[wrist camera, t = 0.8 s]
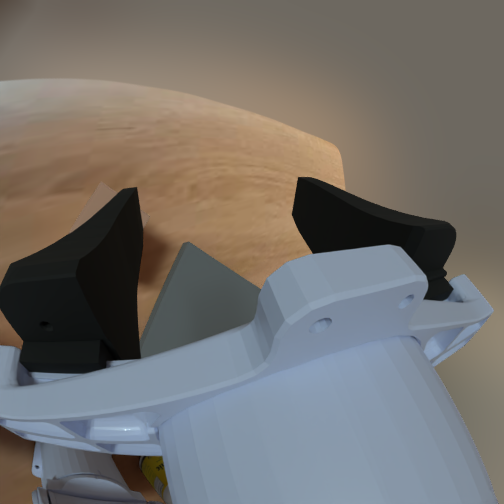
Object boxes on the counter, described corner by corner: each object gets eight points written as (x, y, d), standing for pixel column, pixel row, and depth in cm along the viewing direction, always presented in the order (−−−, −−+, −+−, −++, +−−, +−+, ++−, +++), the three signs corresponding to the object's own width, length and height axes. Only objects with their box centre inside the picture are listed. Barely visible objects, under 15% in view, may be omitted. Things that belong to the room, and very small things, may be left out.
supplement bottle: (181, 440, 25) (235, 484, 17) (179, 474, 23) (229, 519, 16) (137, 443, 21) (181, 497, 14) (138, 479, 20) (180, 533, 13)
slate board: (210, 426, 27) (216, 430, 26) (116, 403, 21) (119, 408, 20) (260, 292, 34) (266, 293, 33) (183, 243, 28) (188, 241, 27)
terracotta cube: (108, 272, 23) (121, 271, 19) (64, 244, 20) (66, 236, 16) (132, 226, 24) (150, 216, 21) (91, 198, 22) (101, 181, 18)
